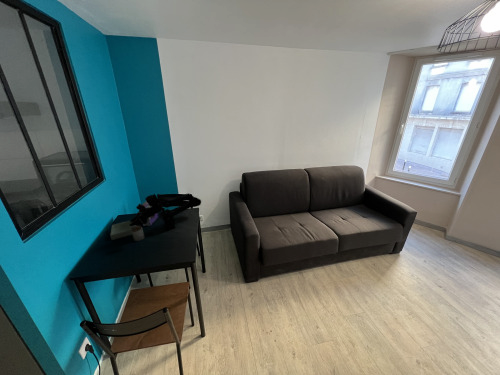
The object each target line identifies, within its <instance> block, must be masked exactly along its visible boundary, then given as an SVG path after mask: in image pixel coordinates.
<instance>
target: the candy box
mask: <svg viewBox="0 0 500 375" xmlns="http://www.w3.org/2000/svg"><path fill="white" fill-rule="evenodd" d="M141 204H142V205H143V206H145V207H146V208H148V207H149V208H150V207H152V206H150V205H149V204H148V203H147V201H146V200H145V202H143V203H141ZM158 213H159V212H158ZM158 213H156V214H155V215H154V216H151V217H149V218H148V219H147V223H146V224H143V225H142V226H144V227H151V226H152V225H153V224H154V222H156V220H157V219H158V218H159V214H158Z"/></svg>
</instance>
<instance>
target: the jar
mask: <svg viewBox="0 0 500 375" xmlns="http://www.w3.org/2000/svg"><path fill="white" fill-rule="evenodd" d="M131 231H132V235H131V236H132V238H133V240H134V241H135V242H139V241H143V240H144V239H145V233H144V230H143V227H142V226H141V225H136V226H134V227H133V228H132V229H131Z"/></svg>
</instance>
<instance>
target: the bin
mask: <svg viewBox="0 0 500 375" xmlns="http://www.w3.org/2000/svg"><path fill="white" fill-rule="evenodd" d="M131 223H132V222H130V220H127V221H122V222H119V223H115V224H112V225H111V231H110V238H111V241H115V240H118V239H121V238H124V237H129V236H133V235H132V231H131V229H132V228H133V227H134V226H137V225H134V226H130V224H131Z"/></svg>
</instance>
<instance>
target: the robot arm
mask: <svg viewBox="0 0 500 375" xmlns="http://www.w3.org/2000/svg"><path fill="white" fill-rule="evenodd" d="M146 201H147V203H148V204H149V205H150V206H152V207H150V208H149V207H148V208H146V207H145V206H143V205H142V204H143V203H139V204H137V205H136V209H137V210H138V211H137V214H136V215H135V216H134V217H133V218H131V219H130V220H129V221H130V222H132V223H131V224H130V226H134V225H136V226H141V225H142V226H143V224H146V223H147V219H148V218H149V217H151V216H154V215H155V214H156V213H159V218H160V219H161V220H162V221H163V222H164V223H163V225H164V226H163V227H164V229H165V231H166V232H168V231H171V230H174V229H175V230H176V226H175V220H176V218H175V216H177V215H179V214H181V213H182V212H185V211H187V210H188V209H191V208H196V207H199V206H201V204H202V200H201V199H200V198H198V197H196V196H194V195H193V194H191V193H188V192H187V193H186V194H182V195H177V196H173V197H162V198H158V197H157V195H156V194H149V195H147V196H146V197H145V202H146ZM185 201H187V202H186V203H183V204H181V205H179V206H177V207H175V208H173V209H168V208H170V207H172V206H174V205H175V204H178V203H180V202H181V203H182V202H185Z"/></svg>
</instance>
